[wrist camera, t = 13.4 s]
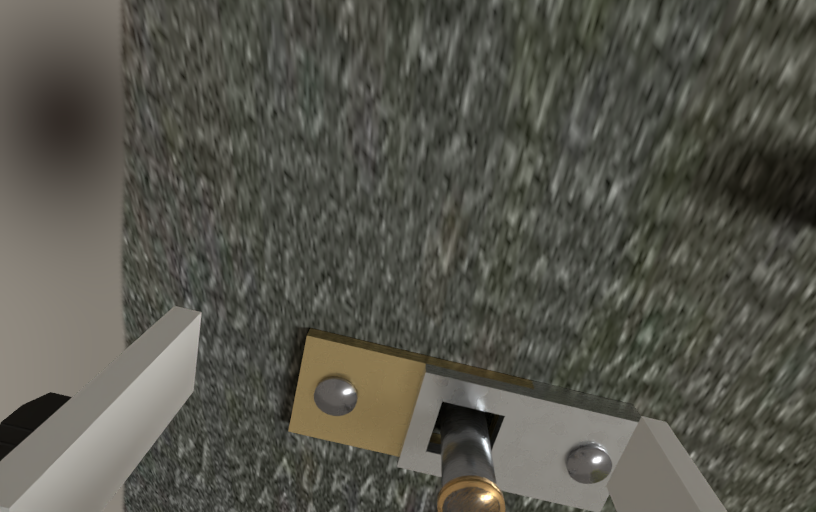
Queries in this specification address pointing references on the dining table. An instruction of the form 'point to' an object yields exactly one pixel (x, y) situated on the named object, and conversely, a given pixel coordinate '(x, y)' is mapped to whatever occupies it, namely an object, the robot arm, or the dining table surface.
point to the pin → (467, 463)
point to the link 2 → (528, 435)
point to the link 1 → (365, 391)
